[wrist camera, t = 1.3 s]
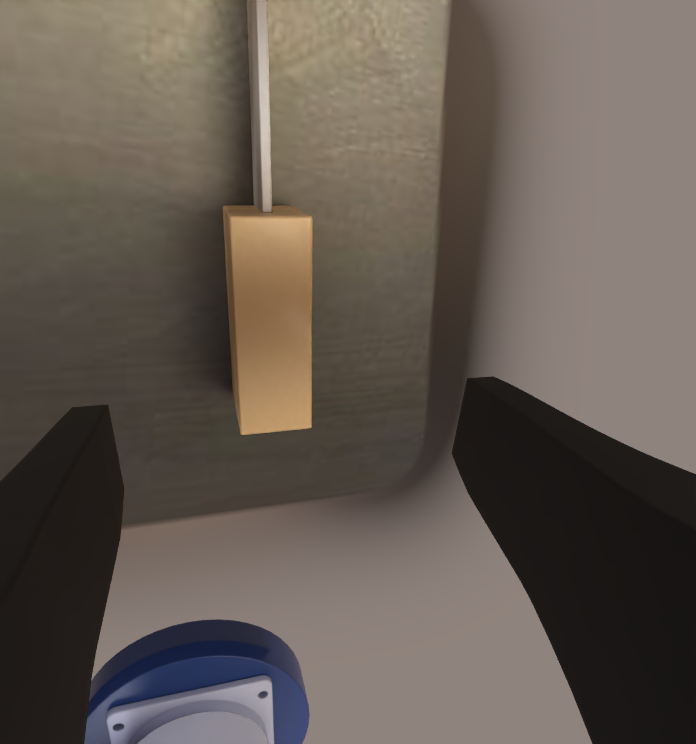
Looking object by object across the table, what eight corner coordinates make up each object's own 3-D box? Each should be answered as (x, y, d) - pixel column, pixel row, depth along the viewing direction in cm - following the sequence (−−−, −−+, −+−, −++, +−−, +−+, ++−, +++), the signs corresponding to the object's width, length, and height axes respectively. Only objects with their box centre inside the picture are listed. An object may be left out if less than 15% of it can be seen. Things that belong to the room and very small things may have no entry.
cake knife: (294, 389, 22) (312, 428, 18) (233, 394, 21) (240, 436, 18) (288, -266, 14) (315, -376, 11) (195, -287, 14) (196, -409, 11)
